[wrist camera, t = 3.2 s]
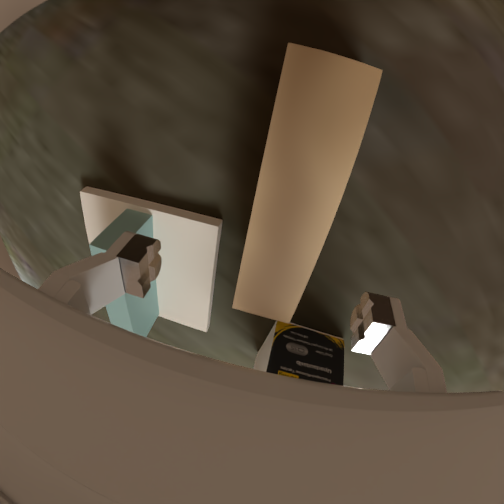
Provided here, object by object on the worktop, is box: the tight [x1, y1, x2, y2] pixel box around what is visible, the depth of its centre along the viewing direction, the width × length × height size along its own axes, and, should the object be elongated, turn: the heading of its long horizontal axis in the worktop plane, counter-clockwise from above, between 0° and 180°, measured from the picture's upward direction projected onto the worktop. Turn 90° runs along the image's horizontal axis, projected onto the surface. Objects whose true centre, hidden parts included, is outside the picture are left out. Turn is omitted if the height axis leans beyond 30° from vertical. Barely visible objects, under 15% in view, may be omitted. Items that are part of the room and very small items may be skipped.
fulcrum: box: [80, 186, 223, 337], centre depth 22 cm, size 13×13×6 cm
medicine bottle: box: [253, 321, 344, 386], centre depth 23 cm, size 7×7×12 cm
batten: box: [232, 43, 383, 324], centre depth 16 cm, size 4×16×5 cm, turn 170°
